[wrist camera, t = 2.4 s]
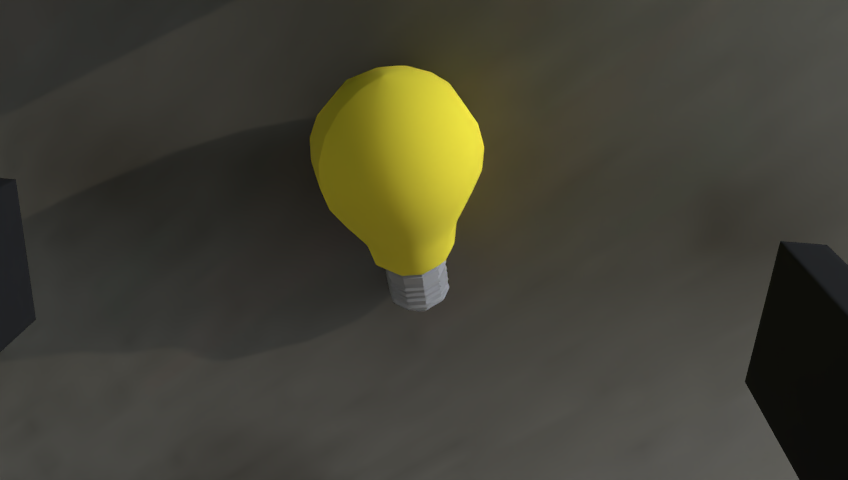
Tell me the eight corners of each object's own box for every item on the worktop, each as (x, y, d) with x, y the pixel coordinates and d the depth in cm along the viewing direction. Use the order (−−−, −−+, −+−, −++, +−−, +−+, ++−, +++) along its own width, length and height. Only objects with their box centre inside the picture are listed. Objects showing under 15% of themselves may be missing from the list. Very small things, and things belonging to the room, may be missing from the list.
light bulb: (441, 20, 17) (500, 95, 14) (465, 241, 20) (516, 334, 18) (282, 57, 16) (311, 143, 14) (337, 276, 20) (369, 377, 17)
